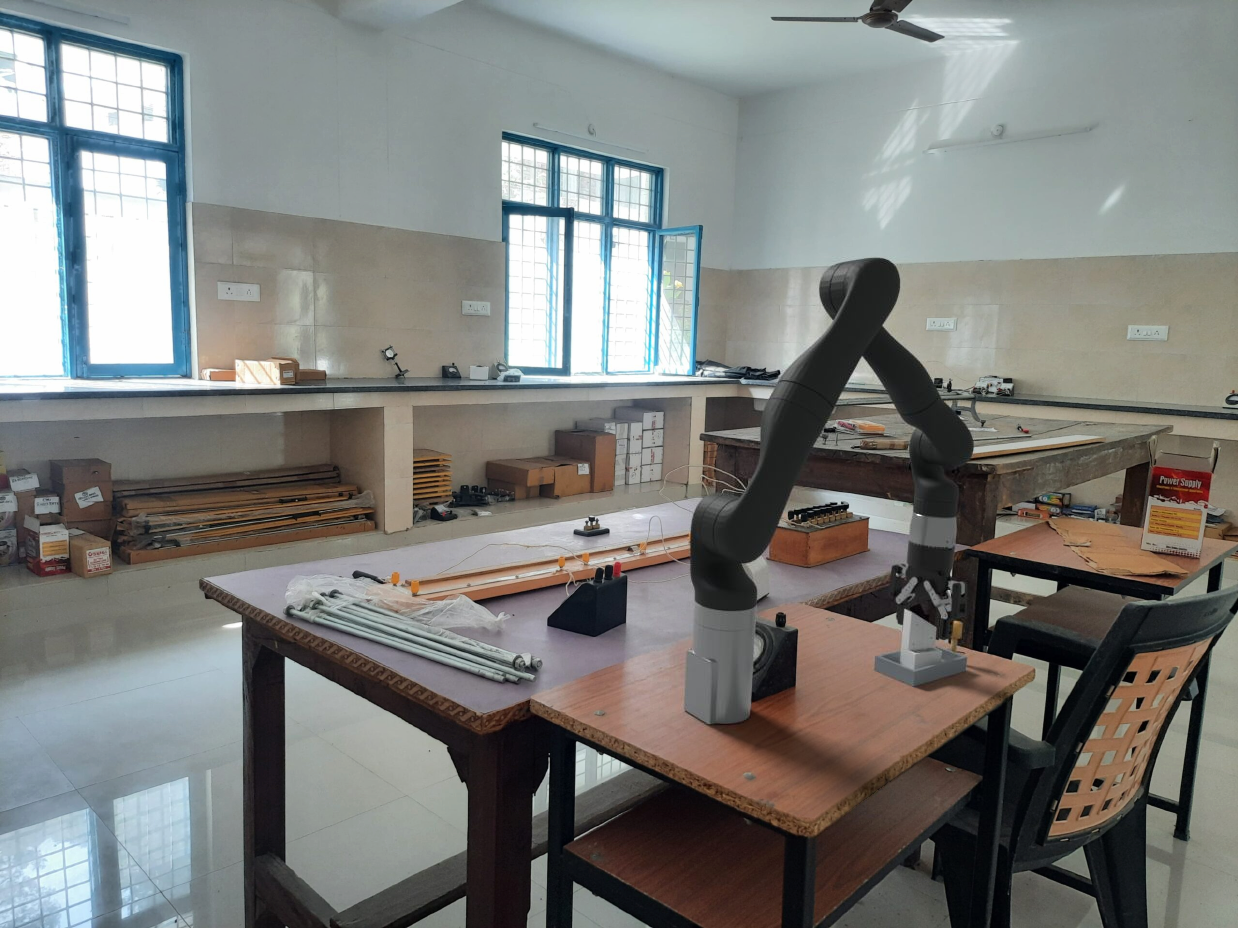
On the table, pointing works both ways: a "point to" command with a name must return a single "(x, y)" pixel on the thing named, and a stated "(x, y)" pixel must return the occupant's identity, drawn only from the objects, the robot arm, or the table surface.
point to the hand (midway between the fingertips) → (923, 631)
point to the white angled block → (918, 642)
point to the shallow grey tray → (945, 668)
